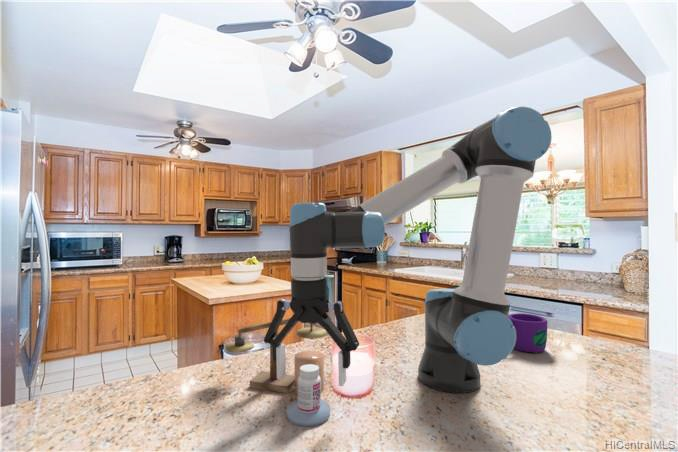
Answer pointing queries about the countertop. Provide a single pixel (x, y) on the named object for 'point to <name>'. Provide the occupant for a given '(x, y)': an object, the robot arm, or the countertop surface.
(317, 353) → the tan upright cylinder
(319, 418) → the grey smooth pebble
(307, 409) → the pill bottle
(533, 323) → the mug
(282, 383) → the balance
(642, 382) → the countertop surface
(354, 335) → the robot arm
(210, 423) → the countertop surface
